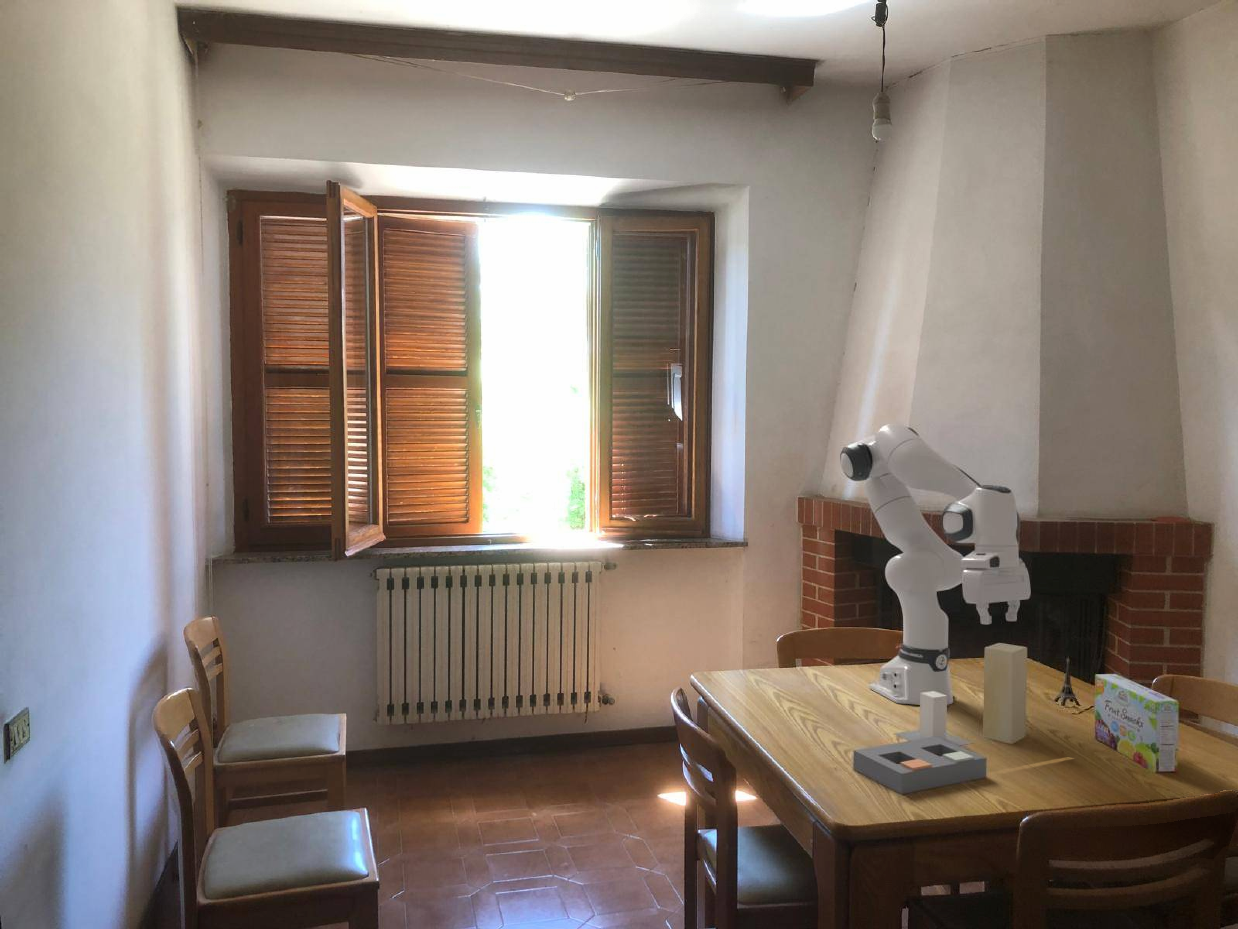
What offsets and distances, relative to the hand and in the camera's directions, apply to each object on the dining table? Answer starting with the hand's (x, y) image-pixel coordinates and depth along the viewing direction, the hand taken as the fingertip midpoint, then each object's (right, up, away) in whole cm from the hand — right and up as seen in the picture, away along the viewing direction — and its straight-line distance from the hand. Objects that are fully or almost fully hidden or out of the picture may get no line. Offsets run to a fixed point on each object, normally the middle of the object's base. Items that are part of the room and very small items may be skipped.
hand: (998, 622), depth 199 cm
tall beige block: (+4, -28, +8) cm, 29 cm away
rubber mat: (-13, -28, +6) cm, 31 cm away
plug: (-13, -27, +6) cm, 30 cm away
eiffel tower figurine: (+32, -28, +35) cm, 55 cm away
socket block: (-22, -28, -14) cm, 38 cm away
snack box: (+28, -29, -2) cm, 40 cm away
